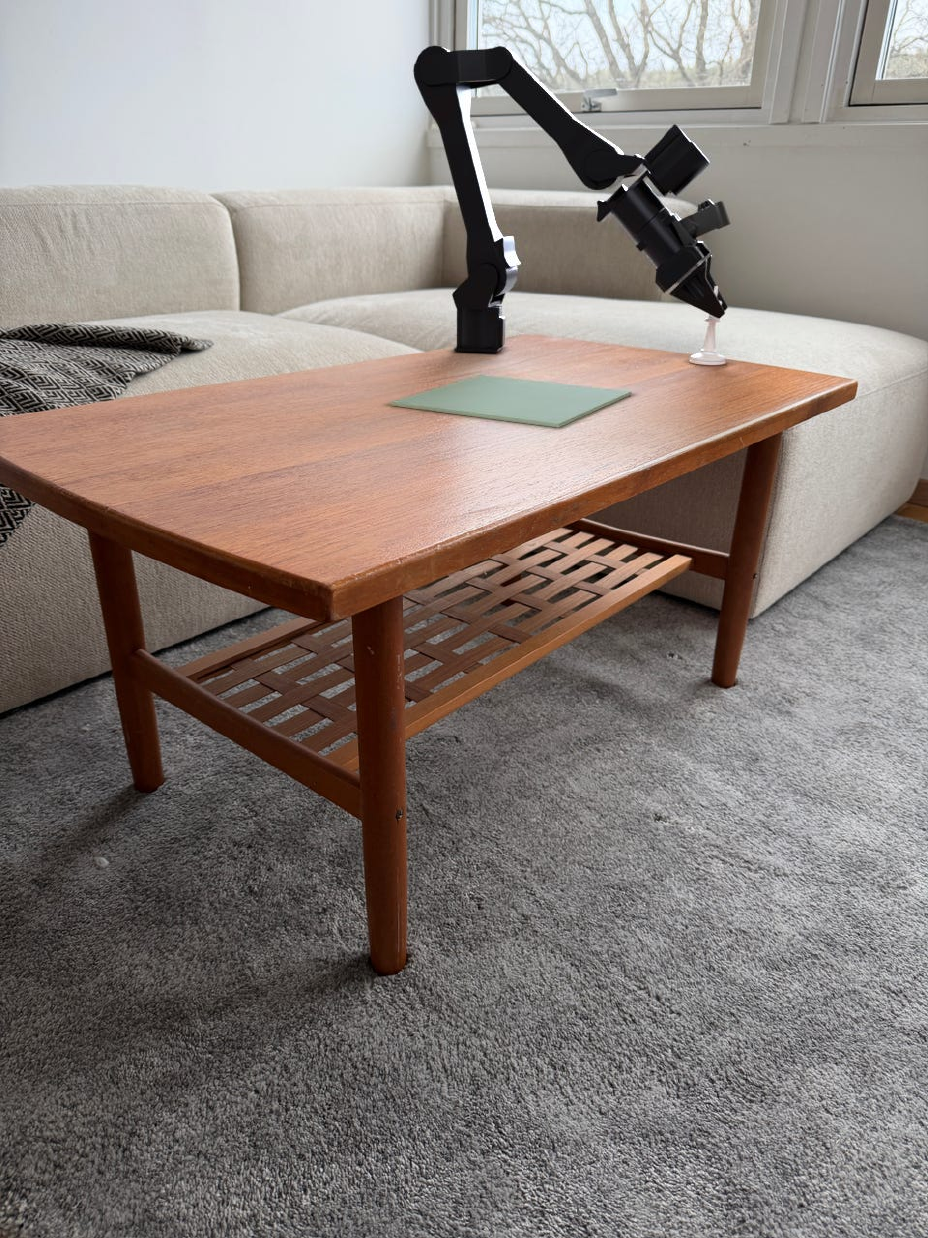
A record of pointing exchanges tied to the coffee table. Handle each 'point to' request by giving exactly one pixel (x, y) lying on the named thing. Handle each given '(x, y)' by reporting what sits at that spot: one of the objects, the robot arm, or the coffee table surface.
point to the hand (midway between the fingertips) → (723, 313)
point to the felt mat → (514, 400)
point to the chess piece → (709, 344)
